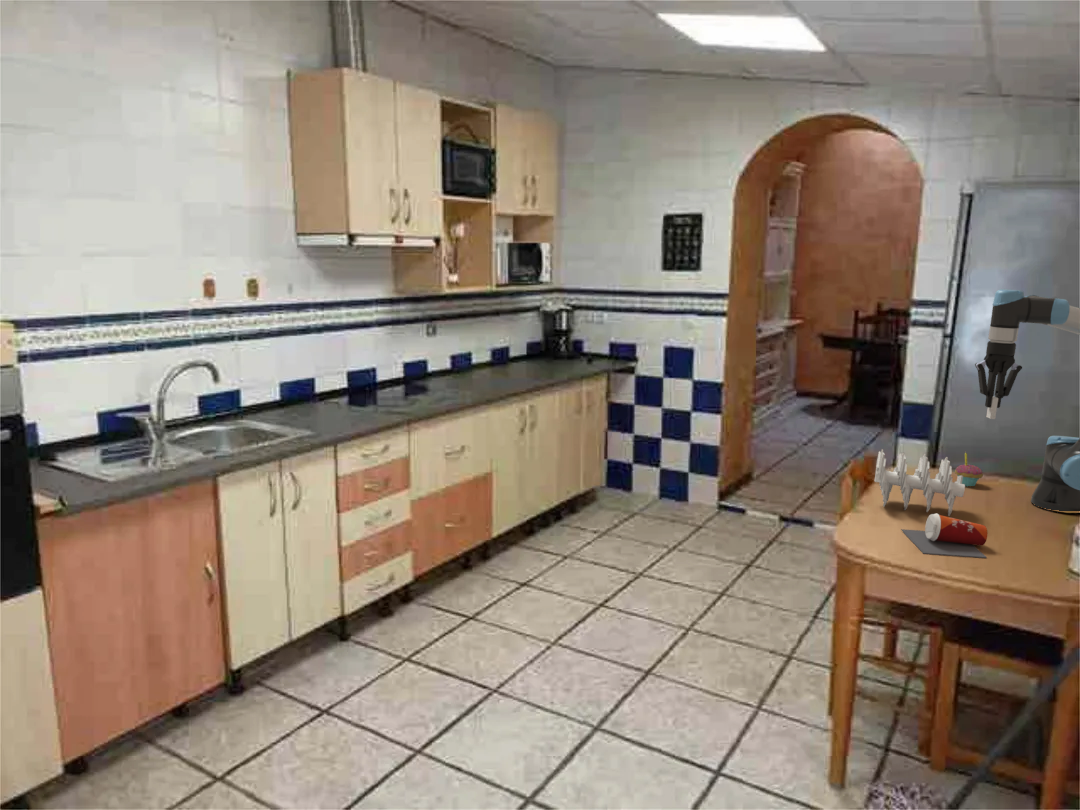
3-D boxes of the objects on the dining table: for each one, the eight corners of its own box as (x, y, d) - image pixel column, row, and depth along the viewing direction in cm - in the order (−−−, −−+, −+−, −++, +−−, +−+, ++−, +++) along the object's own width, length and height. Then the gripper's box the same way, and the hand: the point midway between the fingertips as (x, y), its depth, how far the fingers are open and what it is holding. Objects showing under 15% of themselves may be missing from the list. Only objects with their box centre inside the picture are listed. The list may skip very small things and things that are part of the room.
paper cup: (991, 524, 215) (937, 515, 216) (986, 552, 215) (932, 543, 217) (979, 518, 222) (927, 510, 224) (973, 545, 223) (922, 536, 225)
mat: (959, 534, 228) (959, 533, 228) (986, 558, 211) (986, 557, 211) (900, 530, 230) (901, 529, 230) (923, 553, 212) (923, 552, 212)
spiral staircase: (957, 532, 242) (868, 515, 251) (957, 493, 255) (873, 478, 264) (970, 487, 231) (878, 471, 240) (970, 449, 244) (882, 435, 253)
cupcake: (958, 487, 274) (962, 453, 272) (949, 480, 282) (954, 447, 280) (984, 489, 273) (989, 455, 270) (975, 482, 281) (980, 449, 279)
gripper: (1019, 340, 243) (1007, 416, 248) (974, 339, 245) (963, 414, 250) (1031, 343, 236) (1018, 421, 241) (984, 341, 237) (973, 419, 242)
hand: (990, 417), depth 245 cm, fingers closed
